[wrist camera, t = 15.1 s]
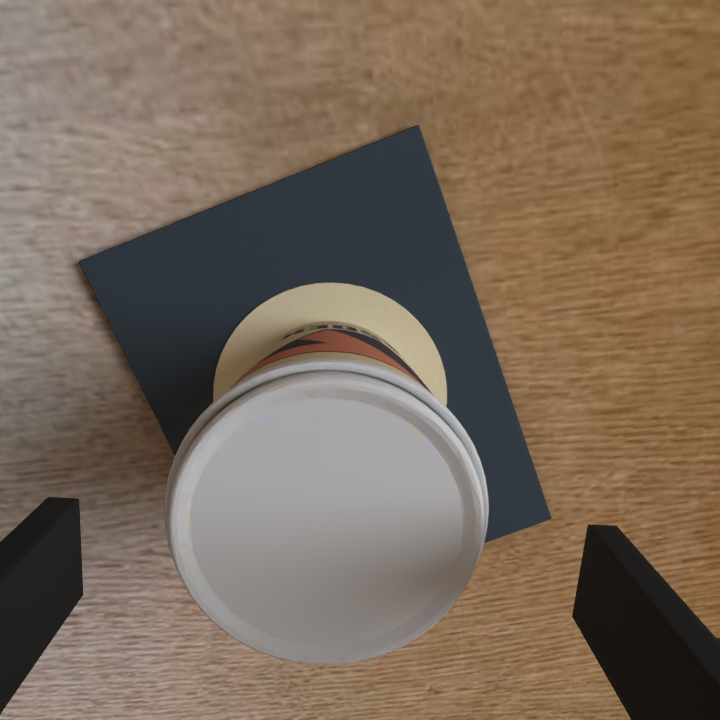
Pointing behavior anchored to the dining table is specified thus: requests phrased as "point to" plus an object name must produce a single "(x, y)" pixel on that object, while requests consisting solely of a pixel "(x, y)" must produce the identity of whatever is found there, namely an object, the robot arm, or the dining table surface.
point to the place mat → (320, 300)
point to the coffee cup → (326, 501)
